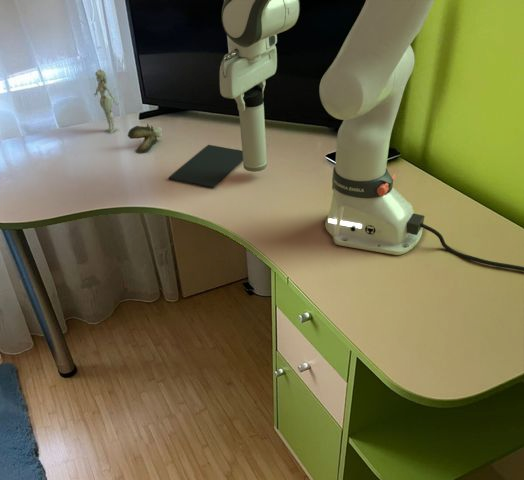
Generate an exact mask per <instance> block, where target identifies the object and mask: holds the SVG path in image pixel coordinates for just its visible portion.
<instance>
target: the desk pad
mask: <svg viewBox="0 0 524 480" xmlns="http://www.w3.org/2000/svg"><path fill="white" fill-rule="evenodd" d="M242 162H243V153H242V149H241V150H240V149H234V148H229V147H224V146H216V145H212V144H207V145H206V146H205V147H204V148H202V149H201V150H200V151H199V152H197V153H196V154H195V155H194V156H193V157H192V158H190V159H189V160H188V161H187V162H186V163H184V164H183V165H181V166H180V167H179V168H178V169H177V170H175V171H174V172H173V173H172V174H171V175H170V176H168V180H169V181H173V182H174V181H175V182H179V183H184V184H189V185H192V186H193V185H194V186H199V187H204V188H208V189H212V190H213V189H214V188H215V187H217V186H218V185H219V183H221V182H222V181H223V180H224V179H225V178H226V177H227V176H228V175H229V174H231V173H232V172H233V171H234V170H235V169H236V168H237V167H238V166H239V165H240V164H241V163H242Z"/></svg>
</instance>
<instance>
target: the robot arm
mask: <svg viewBox="0 0 524 480" xmlns="http://www.w3.org/2000/svg"><path fill="white" fill-rule="evenodd" d="M434 3H435V0H365V2H364V5H363V6H362V7H361V11H360V12H359V15H358V16H357V18H356V20H355V22H354V23H353V25H352V27H351V29H350V30H349V32H348V34H347V36H346V38H345V39H344V41H343V44H342V46H341V47H340V49H339V51H338V53H337V55H336V57H335V58H334V59H333V62H332V63H331V65H330V66H329V67H328V68H327V70H326V71H325V72H324V74H323V76H322V77H321V79H320V83H319V87H318V88H319V89H318V92H319V99H320V102H321V105H322V107H323V108H324V109H325V111H326V112H327V113H328V115H330V116H331V117H333V118H334V119H336V120H341V121H342V122H341V124H340V126H339V128H338V131H337V134H336V145H335V147H336V148H335V163H334V164H335V165H334V167H333V170H332V180H331V185H332V186H331V187H332V188H331V189H332V198H331V203H330V208H329V211H328V214H327V217H326V219H325V222H324V226H325V229H326V231H327V232H328V233H329V234H330V235H331V237H332V239H333V242H334V244H335V245H337V246H342V247H347V248H353V249H359V250H365V251H370V252H375V253H376V252H377V253H383V254H388V255H394V256H401V255H403V254H406V253H409V251H411V250H412V249H413V248H415V247H416V245H417V244H418V243H419V241H420V240H421V238H422V235H423V229H424V230H425V231H428V232H430V233H432V234H434V235H435V236H436V237H437V238H438V240H439V242H440V244H441V246H442V247H443V248H444V249H445V250H446V251H447V252H449V253H451V254H453V255H456V256H457V257H460V258H463V259H465V260H469V261H473V262H476V263H480V264H483V265H488V266H493V267H498V268H504V269H510V270H516V271H521V272H524V266H522V265H515V264H509V263H503V262H497V261H492V260H488V259H483V258H480V257H476V256H472V255H469V254H465V253H462V252H459V251H457V250H455V249H453V248H452V247H450V246H449V245H448V244H447V243H446V241H445V239H444V237H443V235H442V233H440V232H439V231H438V230H437V229H435V228H433V227H431V226H429V225H427V224H425V223H424V221H425V215H424V214H418V213H415V211H414V207H413V205H412V204H411V203H410V202H409V201H408V200H407V199H406V198H405V197H404V196H403V195H402V194H401V193H400V192H398V190H397V189H396V188H394V187H393V185H394V182H395V180H396V178H397V177H396V175H397V173H396V172H395V173H394V174H393V175H392V176H391V174H390V172H389V171H388V168H387V164H388V157H389V149H390V142H391V136H392V132H393V129H394V125H395V123H396V122H395V121H396V118H397V115H398V112H399V109H400V105H401V102H402V98H403V95H404V91H405V90H406V87H407V83H408V81H409V79H410V77H411V76H412V73H413V71H414V67H415V61H416V60H415V59H416V58H415V53H414V50H413V47H412V46H411V44H412V43H413V41H414V39H415V38H416V37H417V36H418V35H419V33H420V32H421V30H422V28H423V27H424V25H425V22H426V21H427V18H428V16H429V14H430V11H431V9H432V7H433V5H434ZM300 5H301V3H300V0H223V4H222V8H221V25H222V28H223V30H224V32H225V34H226V40H227V48H228V49H227V50H228V53H226V54H224V55H223V58H222V61H221V63H220V67H219V92H220V95H221V96H222V97H223V98H225V99H231V100H233V99H234V100H235V102H236V104H237V110H238V112H239V111H245V110H246V109H247V102H244V100H243V97H244V92H246V91H247V90H249V89H251V88H252V87H254V86H256V85H260V87H261V88H262V90H263V92H264V91H265V87H266V80H267V79H269V78H271V77H273V76H274V75H275V74H276V72H277V69H278V53H277V46H276V44H277V43H278V34H280V33H283V32H285V31H288V30H290V29H291V28H293V27H294V26H296V24H297V23H298V20H299V17H300V12H301V6H300Z"/></svg>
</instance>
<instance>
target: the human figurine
mask: <svg viewBox="0 0 524 480" xmlns="http://www.w3.org/2000/svg"><path fill="white" fill-rule="evenodd" d="M94 74H95V77H96V78H95V79H96V81H97V87H96V89H95V93H94V94H93V96H94V97H96V96H98V95H99V94H100V99H99V104H100V107H101V108H102V110H103V113H104V115H105V117H106V121H107V124H108V129H106V132H108V133H110V134H111V133H113V132H115V131H116V128H115V126H114V122H115V119H114V116H113V114H112V111H113V106H112V105H113V104H115V105H116V106H119V104H120V102H119V101H118V100H117V99H115V96H114V94H113V93H112V92H111V91H110V88H109V85H108V76H107V74H106V72H105V71H104V69H97V71H95V73H94ZM106 91H107V92H108V94H109V95H108V94H106ZM98 93H99V94H98ZM112 101H113V102H112Z"/></svg>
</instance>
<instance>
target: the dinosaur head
mask: <svg viewBox="0 0 524 480" xmlns="http://www.w3.org/2000/svg"><path fill="white" fill-rule="evenodd" d="M162 135H163V129H162V128H161V127H160V126H155V127H154V126H153V125H149V124H148V123H146V126H141V125H140V126H139V125H135V126H133V127H131V128H130V129H129V130H128V132H127V137H128V138H129V140H134V139H136V140H137V139H143V140H142V142H141V144H140V145H139V146H138V147H137V148H136V149H135V150H136V153H138V154H142V153H147V152H149V151H150V150H151V148H153V146H155V145H156V144H157V142H159V140H158V138H162Z"/></svg>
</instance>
